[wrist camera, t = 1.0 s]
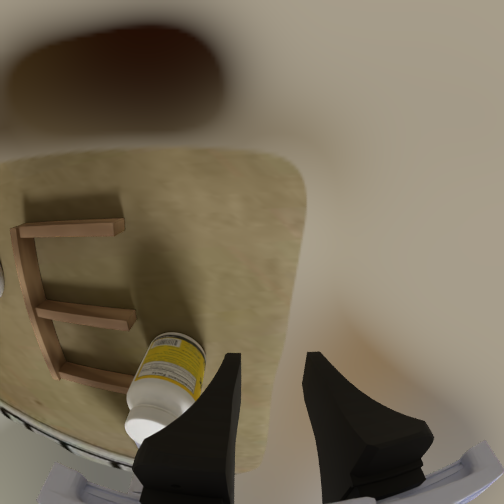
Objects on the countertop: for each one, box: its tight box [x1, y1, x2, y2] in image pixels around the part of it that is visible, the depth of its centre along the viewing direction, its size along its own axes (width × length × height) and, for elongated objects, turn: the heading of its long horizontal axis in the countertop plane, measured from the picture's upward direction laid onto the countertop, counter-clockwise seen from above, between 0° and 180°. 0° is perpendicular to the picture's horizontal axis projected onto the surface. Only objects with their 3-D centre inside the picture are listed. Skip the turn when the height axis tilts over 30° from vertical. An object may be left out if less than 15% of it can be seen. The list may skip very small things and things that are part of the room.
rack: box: [10, 218, 137, 394], centre depth 21 cm, size 17×12×2 cm
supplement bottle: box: [125, 332, 206, 444], centre depth 19 cm, size 5×5×10 cm
